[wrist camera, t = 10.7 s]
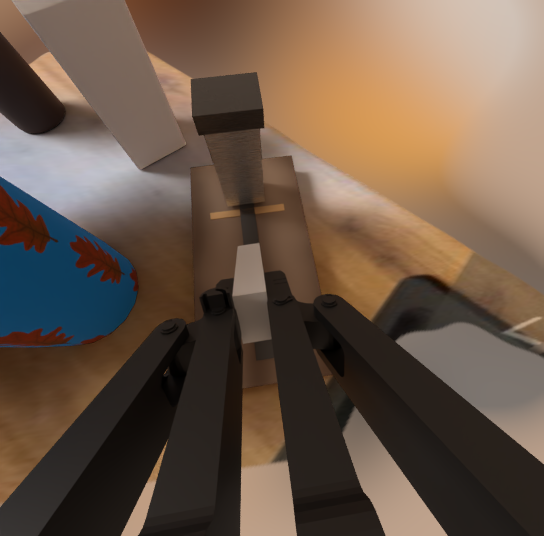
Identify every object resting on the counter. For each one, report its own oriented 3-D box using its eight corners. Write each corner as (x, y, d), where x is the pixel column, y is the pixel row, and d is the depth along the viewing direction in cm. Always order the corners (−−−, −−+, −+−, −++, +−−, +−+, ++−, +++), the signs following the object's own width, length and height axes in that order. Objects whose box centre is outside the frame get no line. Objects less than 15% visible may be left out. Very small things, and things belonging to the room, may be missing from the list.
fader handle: (225, 209, 25) (192, 116, 15) (222, 181, 26) (190, 79, 16) (267, 203, 25) (263, 108, 15) (263, 176, 26) (256, 72, 16)
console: (205, 390, 22) (196, 395, 19) (197, 182, 30) (190, 167, 27) (331, 371, 22) (338, 373, 20) (290, 170, 30) (291, 154, 28)
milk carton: (187, 145, 32) (73, -120, 14) (140, 171, 30) (-55, -87, 12) (162, 116, 34) (33, -151, 16) (117, 139, 32) (-81, -125, 14)
